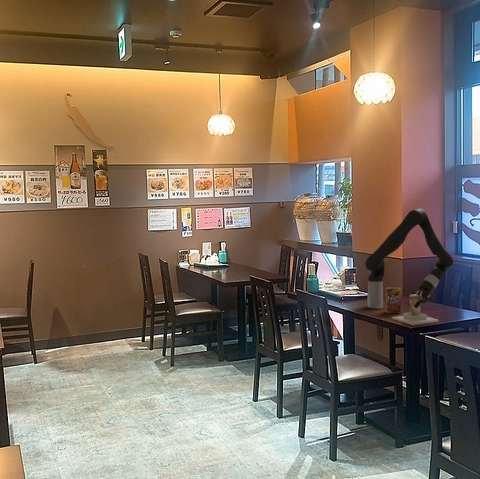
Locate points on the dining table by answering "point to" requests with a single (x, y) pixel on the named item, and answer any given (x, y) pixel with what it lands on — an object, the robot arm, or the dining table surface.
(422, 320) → the holder
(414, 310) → the beige capped cylinder
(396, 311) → the candy box
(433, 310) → the dining table surface
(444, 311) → the dining table surface
